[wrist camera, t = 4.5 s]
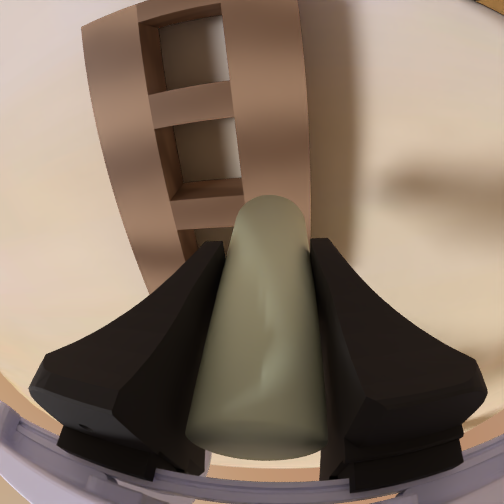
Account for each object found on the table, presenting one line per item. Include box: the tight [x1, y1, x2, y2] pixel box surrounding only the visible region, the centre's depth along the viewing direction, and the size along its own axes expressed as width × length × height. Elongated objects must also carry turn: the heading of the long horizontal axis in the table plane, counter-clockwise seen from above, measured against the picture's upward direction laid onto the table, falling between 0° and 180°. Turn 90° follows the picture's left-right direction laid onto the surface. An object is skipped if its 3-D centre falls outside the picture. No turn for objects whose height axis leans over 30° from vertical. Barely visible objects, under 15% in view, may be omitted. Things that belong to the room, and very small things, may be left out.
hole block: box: [81, 0, 311, 294], centre depth 17 cm, size 20×12×3 cm, turn 6°
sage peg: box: [185, 195, 328, 461], centre depth 9 cm, size 3×3×9 cm
